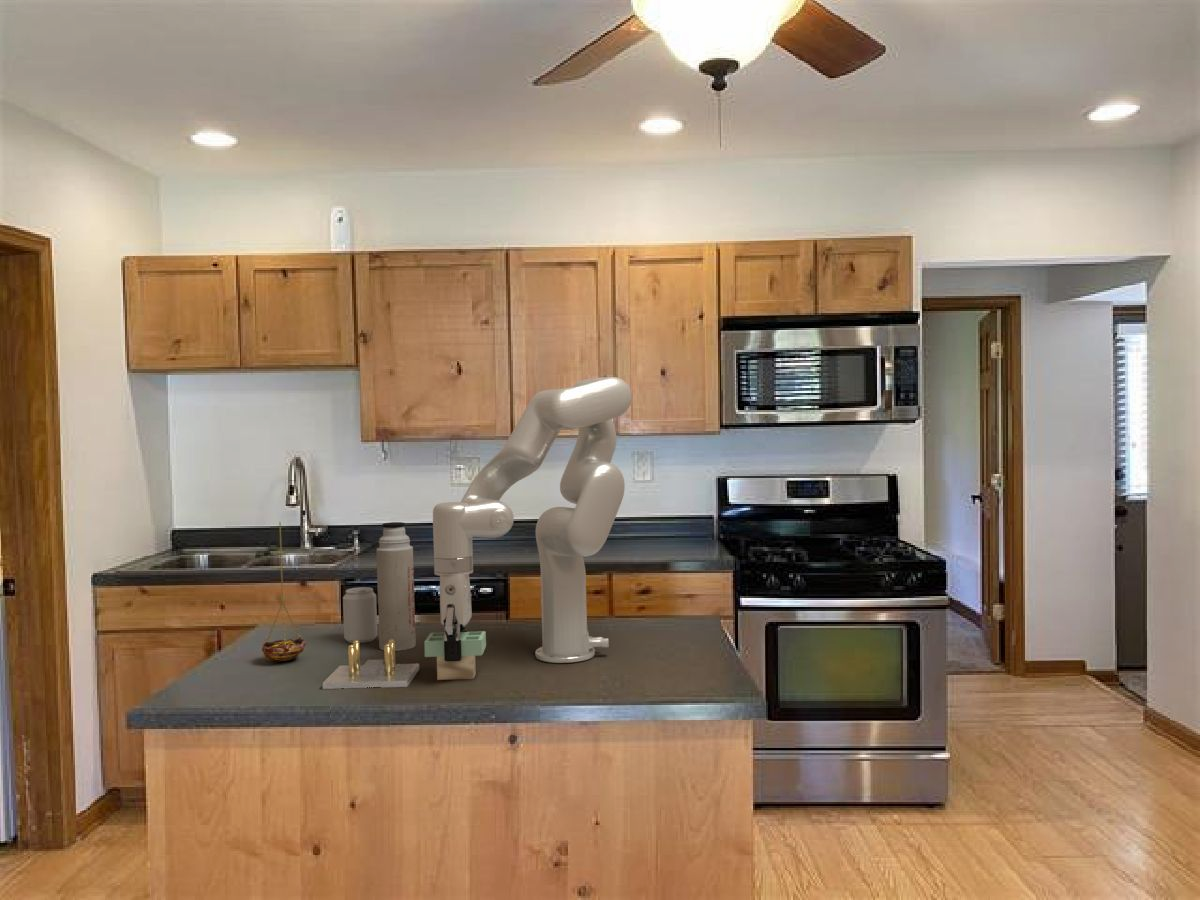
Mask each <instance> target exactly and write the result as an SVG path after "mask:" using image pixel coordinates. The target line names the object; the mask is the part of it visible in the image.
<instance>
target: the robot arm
mask: <svg viewBox="0 0 1200 900" xmlns="http://www.w3.org/2000/svg"><path fill="white" fill-rule="evenodd" d="M632 397H633V396H632V389H631V388H630V386H629V385H628V383H627V382H626V381H625V380H623V379H621V378H619V377H616V376H607V377H596V378H595V377H594V378H593V377H592V378H586V379H582V380H579V381H577V382H576V383H575V384H573V385H572V387H567V388H566V387H565V388H556V389H545V390H541V391H539V392H537V393H536V394H534V395H533V397H532V398H531V399H530V401H528V404H527V406H526V407H525V409H524V411H523V412H522V413H521V416H520V417H519V420H517V421H518V422H517V423H516V425H515V426H514V428H513V429H512V430H513V431H512V432H511V434H510V435H509V437H508V439H507V441H506V442H505V444H504V445H503V447H502V448H501V449H500V450H499V452H497V453H496V454H495V455H493V457H492V459H490V461H488V462H487V464H485V466H484V467H483V468H481V469H480V471H479V472H478V473H477V475H476V476H475V477H474V478H473V480H472V482H471V483H470V485H468V486H469V487H468V488H467V490H466V491H465V494H464V495H463V497H462V498H461V501H459V502H458V501H451V502H449V501H448V502H441V503H438V504H435V506H434V507H433V510H432V527H433V528H432V530H433V531H432V535H433V537H432V539H433V572H434V574H433V575H435V576H439V609H440V625H442V626H443V627H444V632H445V635H444V660H445V661H461V659H462V657H461V640H459V637H460V632H468V631H467V628H466V627H467V625H468V624H469V622H470V620H471V618H472V615H473V614H472V613H473V612H472V595H471V594H472V593H471V582H470V581H471V580H470V574H473V573H474V560H473V557H474V556H473V553H474V552H473V538H487V539H488V538H489V539H495V538H500V537H503V536H504V535H506V534H507V533H508V532H509V531H510V530H511V529H512V527H513V525H514V520H515V519H514V513H513V511H512V508H510V506H508V504H506V503H504V502H502V501H500V500H501V498H502V497H503V496H504V495H505V494H506V492H507V491H508V490H509V489H510V488H511V487H512V486H514V485H515V484H516V483H518V482H519V481H521V480H523V479H525V478H526V477H529V476H530V475H532V474H534V472H536V471H537V470H539V469H540V467H541V466H542V464H543V462H544V460H545V458H546V457H547V455H548V453H549V451H550V450H551V447H552V446H553V444H554V442H555V440H556V438H557V437H558V435H559V433H560V432H561V431H571V430H577V429H578V430H577V431H578V433H577V434H578V435H577V437H576V441H575V444H574V447H573V450H572V452H571V455H570V456H569V457H570V458H569V459H568V462H567V464H566V467H565V469H564V471H563V473H562V477H561V478H560V483H559V490H560V494H561V495H562V497H563V499H565V501H567V502H569V503H571V504H574V505H575V507H567V506H555V507H551V508H549V509H546V510H544V512H543V513H542V514H541V515H540V516H539V518H538V520H537V523H536V525H535V539H536V540H535V541H536V546H537V551H538V555H539V556H538V557H539V565H540V591H541V592H540V596H541V597H540V600H541V633H542V634H541V635H542V636H541V638H542V639H541V641H542V642H541V643H542V646H540V647H538V648H537V649H536V650H535V651H534V652H535V655H534V656H535V658H536V659H537V660H540V661H541V662H542V661H543V662H547V663H554V664H565V663H566V664H567V663H568V664H569V663H578V662H583V661H587V660H589V659H592V658H594V657H595V655H596V653H595V652H596V649H595V648H609V647H610V646H609V644H610V643H609V642H610V641H609V637H606V638H604V637H603V636H595V637H594V636H592V635H590V634H589V632H590V631H589V630H588V622H587V621H588V620H587V616H588V615H587V614H588V613H587V576H586V575H587V574H586V573H587V572H586V566H585V561H584V558H586V557H591V556H594V555H595V554H596V553H598V552H599V551H600V550H601V549H602V547H603V546H604V544H605V543H606V541H607V539H608V536H609V534H610V532H611V529H612V528H613V527H612V526H613V525H614V522H615V519H616V516H617V514H618V512H619V510H620V506H621V504H622V502H623V498H624V495H625V484H626V483H625V478H624V475H623V473H622V471H621V470H620V469H619V468H618V466H616V465H615V464H613V463H611V462H612V459H613V457H614V453H615V450H616V447H617V432H616V427H615V425H614V422H613V420H614V419H616V418H619V417H621V416H623V415H624V414H625V413H626V412H627V411H628V409H629V408H630V406H631V404H632V399H633V398H632Z"/></svg>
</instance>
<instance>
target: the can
mask: <svg viewBox="0 0 1200 900" xmlns="http://www.w3.org/2000/svg"><path fill="white" fill-rule="evenodd" d="M342 610H343V611H342V613H343V639H345V641H347V642H348V643H350V644H353V642H354V641H355V640H358V641H359V644H366V643H370V642H373V641H374V640H375V639H376V638H377V637H378V621H377V620H378V619H377V618H378V617H377V613H378V612H377V611H378V610H377V593H375V592H374V589H373V587H363V586H362V587H352V588H348V589H346V590H345V594H344V595H343V596H342Z"/></svg>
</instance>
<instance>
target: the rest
mask: <svg viewBox="0 0 1200 900" xmlns="http://www.w3.org/2000/svg"><path fill="white" fill-rule="evenodd" d="M461 657H462V659H461V661H445V660H444V656H440V657H436V674H437V676H436V677H437V681H439V680H440V681H443V680H447V681H448V680H473V679H474V678H475V676H476V674H477V672H476V671H477V670H476V656H461Z"/></svg>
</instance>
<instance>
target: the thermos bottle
mask: <svg viewBox="0 0 1200 900" xmlns="http://www.w3.org/2000/svg"><path fill="white" fill-rule="evenodd" d="M405 526H406V522H401V521H399V522H398V521H392V522H385V523H382V528H383V530H382V536H380V538H379V540H378V544H379V545H378V546H379V547H377V548H376V575H377V576H376V579H377V604H378V643H379V644H378V645H379V648H378V649H380V650H382V651H384V646H385V645H386V644H388V642H389V640H390V639H393V640H394V641H395V652H399V651H406V650H410V649H413V648H414V647H416V613H415V612H416V610H415V609H416V608H415V607H416V606H415V581H414V580H415V578H414V577H415V576H414V571H415V568H414V547H413V546H412V545H410V543H411V539H410V536H408V535H407V534H406V528H405Z"/></svg>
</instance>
